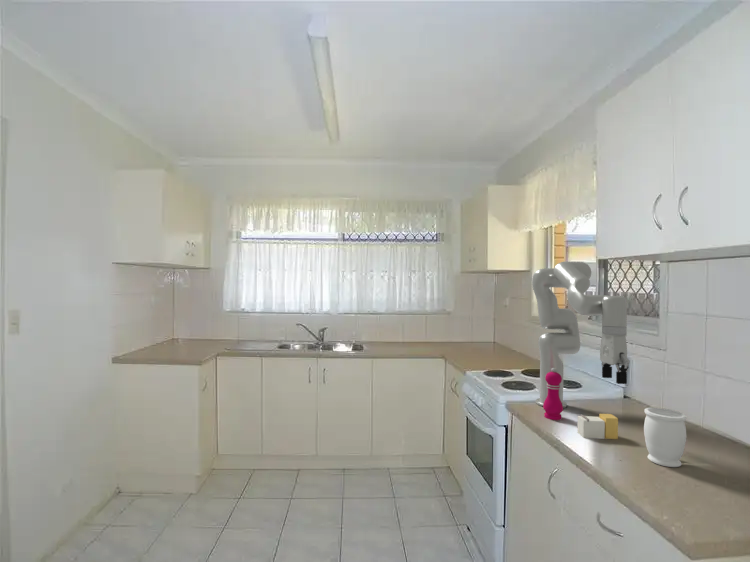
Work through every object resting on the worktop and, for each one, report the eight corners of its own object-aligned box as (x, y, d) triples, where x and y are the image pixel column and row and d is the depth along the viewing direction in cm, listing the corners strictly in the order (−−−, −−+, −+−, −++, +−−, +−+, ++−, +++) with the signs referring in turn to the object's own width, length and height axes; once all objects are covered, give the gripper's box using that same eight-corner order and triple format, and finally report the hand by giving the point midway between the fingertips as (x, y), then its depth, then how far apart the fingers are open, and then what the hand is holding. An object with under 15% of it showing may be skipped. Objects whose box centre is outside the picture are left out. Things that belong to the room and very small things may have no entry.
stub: (599, 433, 151) (599, 413, 151) (610, 433, 151) (611, 414, 151) (605, 438, 146) (606, 418, 146) (617, 439, 146) (618, 418, 146)
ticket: (577, 432, 152) (577, 414, 152) (597, 433, 151) (598, 415, 151) (583, 438, 147) (583, 419, 147) (604, 438, 146) (604, 419, 146)
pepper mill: (560, 423, 163) (561, 370, 163) (540, 419, 168) (541, 368, 168) (564, 418, 169) (565, 367, 169) (545, 414, 173) (546, 365, 173)
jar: (637, 459, 130) (638, 410, 130) (651, 452, 136) (652, 405, 136) (678, 472, 122) (679, 420, 122) (690, 463, 128) (691, 413, 128)
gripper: (591, 328, 158) (591, 375, 157) (616, 333, 141) (615, 385, 140) (612, 329, 157) (612, 375, 157) (639, 334, 140) (639, 386, 140)
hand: (614, 380), depth 149 cm, fingers open, 9 cm apart
